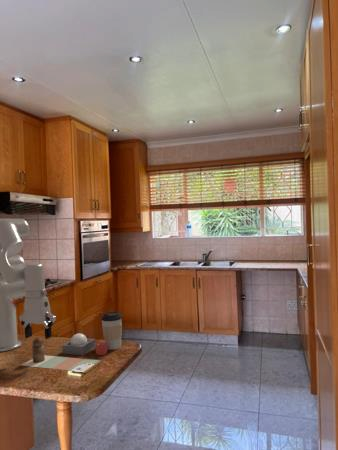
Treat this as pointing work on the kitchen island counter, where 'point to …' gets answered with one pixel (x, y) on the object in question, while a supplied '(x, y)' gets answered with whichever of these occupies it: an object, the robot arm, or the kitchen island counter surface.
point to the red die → (101, 348)
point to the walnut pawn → (38, 350)
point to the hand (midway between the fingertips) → (38, 337)
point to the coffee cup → (112, 329)
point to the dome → (78, 339)
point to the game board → (61, 363)
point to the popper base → (78, 347)
